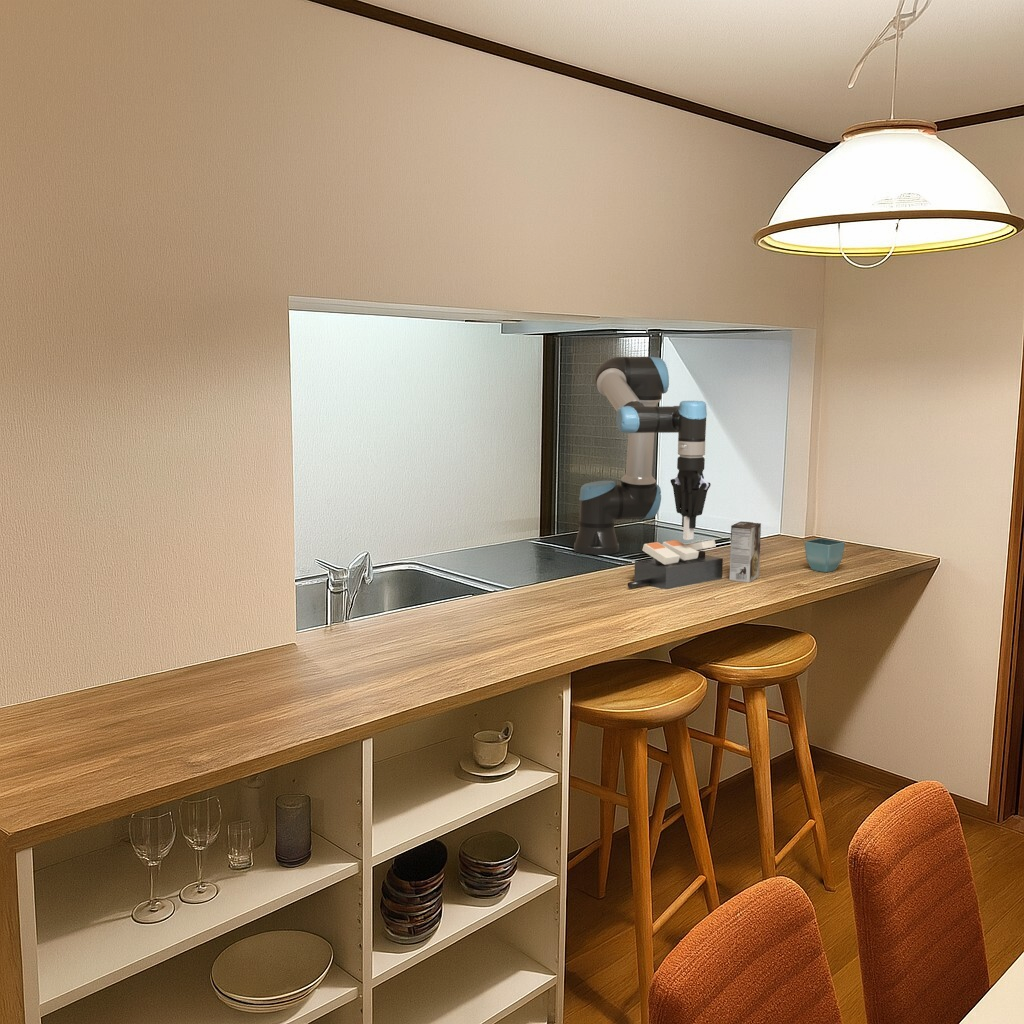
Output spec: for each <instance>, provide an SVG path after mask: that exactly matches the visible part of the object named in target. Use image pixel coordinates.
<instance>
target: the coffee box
mask: <svg viewBox="0 0 1024 1024" xmlns="http://www.w3.org/2000/svg"><path fill="white" fill-rule="evenodd" d="M761 526H762V523H759V522H751V521H738V522H736V523H735V524H731V525H730V529H731V530H730V551H729V553H730V554H729V555H730V556H729V575H728V576H729V579H728V580H729V581H734V582H741V583H751V582H753V581H754V580H756V579H757V578H759V577H760V563H761V561H760V558H761V534H762V532H761V531H762V530H761V529H762V527H761Z"/></svg>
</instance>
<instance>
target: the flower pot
mask: <svg viewBox="0 0 1024 1024" xmlns="http://www.w3.org/2000/svg"><path fill="white" fill-rule="evenodd" d="M845 545H846V541H840V540H835V539H834V540H833V539H828V538H816V539H810V540H804V549H805V557H806V562H807V563H808V566H809V567H810V569H811V570H812V571H817V572H822V573H829V572H833V571H836V570H837V568H838V567H839V565H840V563H841V562H842V559H843V556H844V551H845Z"/></svg>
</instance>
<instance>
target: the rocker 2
mask: <svg viewBox="0 0 1024 1024" xmlns="http://www.w3.org/2000/svg"><path fill="white" fill-rule="evenodd" d="M661 544H662V545H663V546H665V547H666V548H668V549H670V550H671V551H673V552H674V553H676V554H678V555H679V556H680V558H681V559H682V560H690V559H696V558H698V554H699V552H698V551H696V550H694V549H693V548H691V547H689V546H687V545H688V544H685V543H684V542H683V543H682V542H681V541H679V540H677V539H674V540H668V541H662V543H661Z"/></svg>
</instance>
